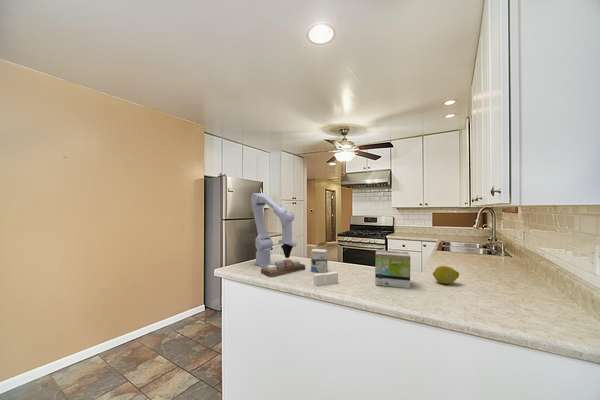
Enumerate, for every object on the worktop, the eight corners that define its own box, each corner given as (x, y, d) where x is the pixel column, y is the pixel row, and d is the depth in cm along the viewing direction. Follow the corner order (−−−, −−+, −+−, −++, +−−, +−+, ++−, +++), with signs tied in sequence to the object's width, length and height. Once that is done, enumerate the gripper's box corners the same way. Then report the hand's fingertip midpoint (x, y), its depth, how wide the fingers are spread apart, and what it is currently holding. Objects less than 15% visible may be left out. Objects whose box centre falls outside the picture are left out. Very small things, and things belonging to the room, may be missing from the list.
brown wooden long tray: (261, 273, 136) (260, 268, 136) (294, 265, 151) (294, 261, 151) (270, 277, 129) (270, 272, 128) (305, 269, 143) (305, 264, 143)
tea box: (375, 285, 115) (374, 253, 115) (375, 279, 125) (375, 249, 124) (410, 289, 110) (410, 255, 110) (408, 281, 120) (407, 250, 120)
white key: (266, 271, 135) (266, 266, 135) (272, 270, 138) (272, 264, 138) (270, 273, 132) (270, 267, 132) (276, 271, 134) (276, 266, 134)
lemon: (432, 284, 116) (432, 267, 116) (432, 279, 123) (432, 263, 123) (460, 288, 111) (460, 270, 111) (458, 282, 118) (458, 265, 118)
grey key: (274, 267, 138) (274, 261, 138) (280, 266, 141) (280, 260, 141) (278, 268, 135) (278, 263, 135) (284, 267, 138) (284, 262, 138)
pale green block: (289, 266, 145) (289, 261, 145) (295, 265, 147) (295, 260, 147) (294, 267, 142) (293, 262, 142) (299, 266, 144) (299, 261, 144)
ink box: (310, 271, 138) (310, 250, 138) (312, 269, 142) (312, 248, 142) (326, 273, 135) (325, 251, 135) (327, 270, 140) (327, 249, 140)
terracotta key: (282, 265, 142) (282, 260, 142) (288, 264, 144) (288, 259, 144) (286, 267, 138) (286, 261, 138) (292, 265, 141) (292, 260, 141)
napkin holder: (341, 281, 123) (341, 269, 123) (340, 289, 112) (340, 277, 112) (310, 279, 126) (310, 268, 126) (307, 287, 115) (306, 275, 115)
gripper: (300, 234, 138) (300, 258, 138) (285, 231, 149) (285, 254, 149) (290, 235, 134) (290, 261, 134) (275, 232, 145) (275, 256, 145)
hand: (287, 257), depth 141 cm, fingers closed
